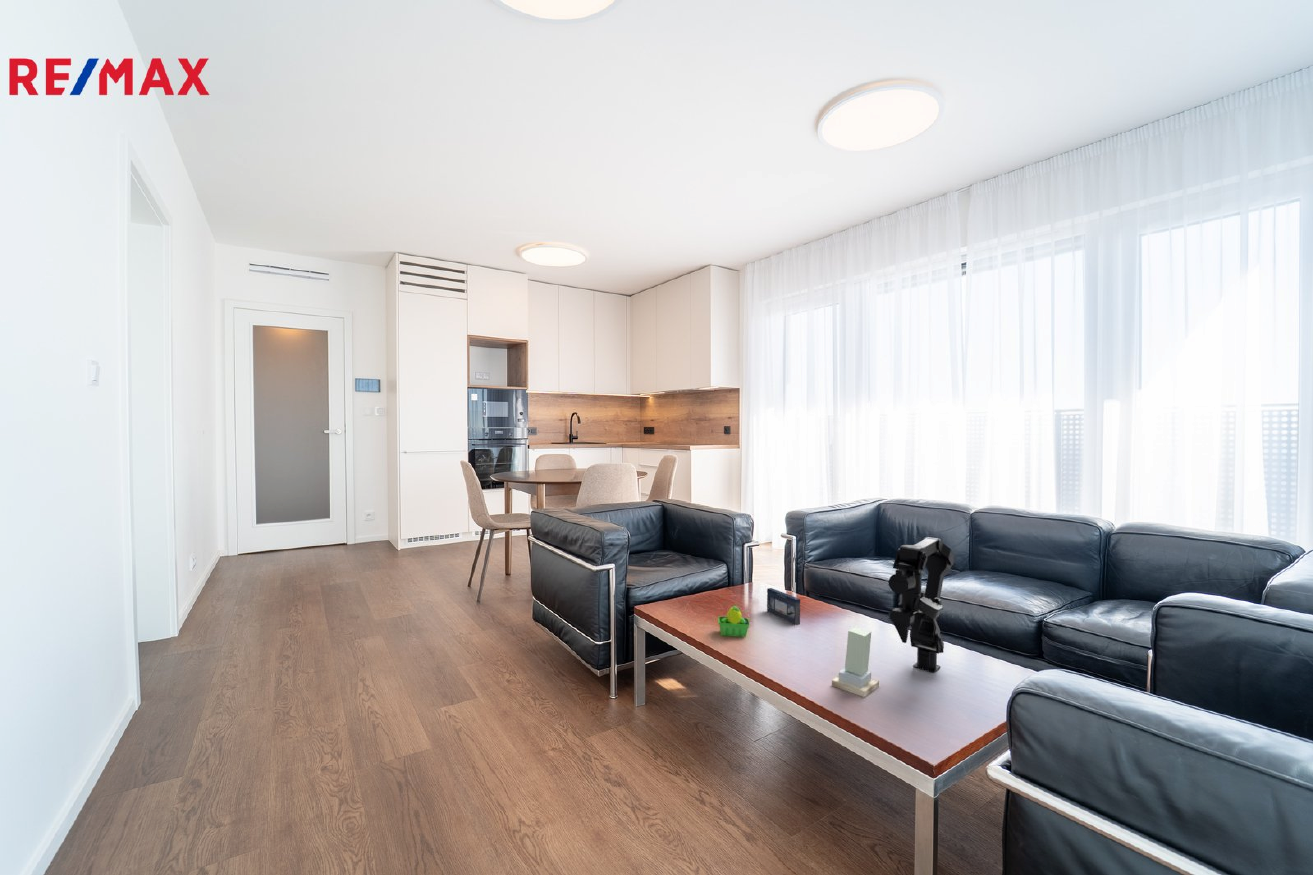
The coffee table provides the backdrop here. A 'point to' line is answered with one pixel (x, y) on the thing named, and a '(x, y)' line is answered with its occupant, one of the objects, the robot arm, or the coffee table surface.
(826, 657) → the coffee table surface
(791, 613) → the vhs cassette tape
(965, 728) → the coffee table surface
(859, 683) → the tower top
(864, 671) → the column
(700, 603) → the coffee table surface
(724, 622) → the fruit basket
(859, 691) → the tower base
